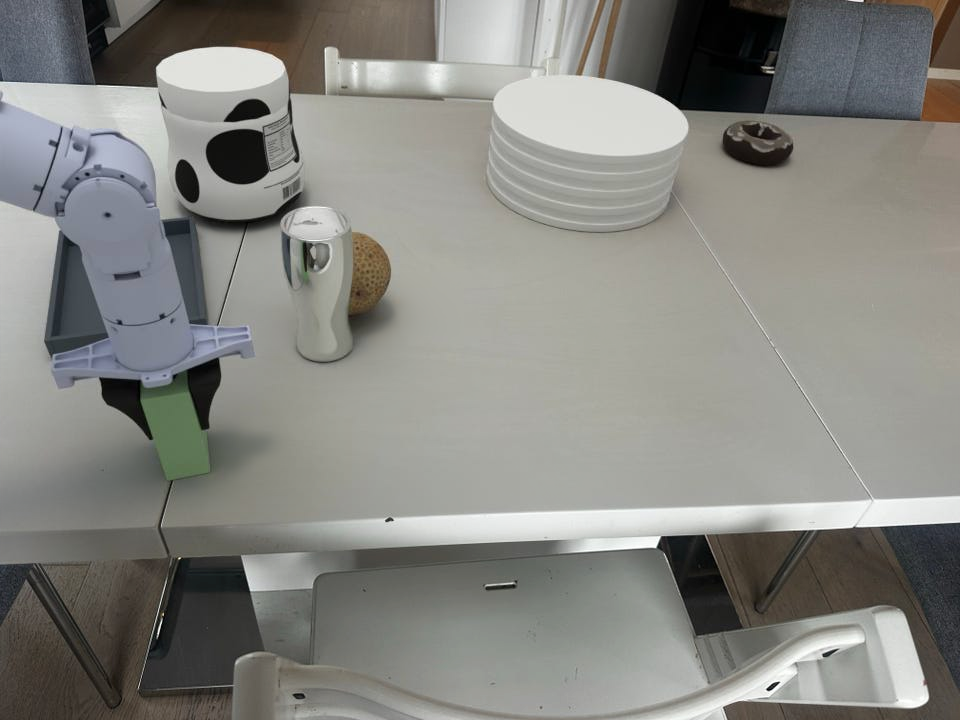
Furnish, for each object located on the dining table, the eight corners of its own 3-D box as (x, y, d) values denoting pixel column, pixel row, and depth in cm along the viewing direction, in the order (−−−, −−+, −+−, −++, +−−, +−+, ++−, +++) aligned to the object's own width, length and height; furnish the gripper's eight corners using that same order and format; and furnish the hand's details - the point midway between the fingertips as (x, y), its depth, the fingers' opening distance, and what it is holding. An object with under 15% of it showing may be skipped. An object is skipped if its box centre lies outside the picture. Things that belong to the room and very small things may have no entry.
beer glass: (316, 317, 80) (306, 197, 71) (370, 336, 79) (367, 216, 69) (279, 351, 75) (262, 228, 66) (334, 373, 74) (326, 249, 64)
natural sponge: (369, 347, 77) (367, 270, 71) (296, 326, 79) (287, 249, 72) (402, 302, 84) (403, 228, 77) (333, 283, 85) (329, 209, 79)
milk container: (179, 173, 102) (151, 43, 90) (303, 168, 106) (291, 43, 94) (172, 238, 90) (138, 97, 78) (312, 229, 94) (299, 94, 82)
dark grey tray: (52, 360, 72) (43, 341, 70) (65, 248, 86) (58, 230, 85) (210, 337, 76) (205, 318, 75) (197, 234, 91) (193, 216, 89)
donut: (800, 168, 120) (810, 146, 117) (736, 168, 118) (744, 146, 115) (769, 138, 128) (777, 117, 125) (709, 138, 126) (715, 116, 123)
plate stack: (699, 187, 112) (721, 116, 104) (605, 255, 95) (623, 176, 87) (555, 129, 124) (565, 61, 116) (448, 180, 107) (452, 105, 99)
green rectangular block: (167, 481, 62) (133, 382, 54) (165, 438, 66) (133, 339, 58) (210, 472, 63) (184, 373, 55) (206, 430, 67) (180, 332, 59)
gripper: (25, 352, 48) (84, 479, 57) (248, 319, 52) (270, 442, 61) (35, 291, 53) (88, 418, 62) (238, 266, 57) (260, 387, 66)
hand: (178, 426), depth 62 cm, fingers closed on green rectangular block, 3 cm apart
